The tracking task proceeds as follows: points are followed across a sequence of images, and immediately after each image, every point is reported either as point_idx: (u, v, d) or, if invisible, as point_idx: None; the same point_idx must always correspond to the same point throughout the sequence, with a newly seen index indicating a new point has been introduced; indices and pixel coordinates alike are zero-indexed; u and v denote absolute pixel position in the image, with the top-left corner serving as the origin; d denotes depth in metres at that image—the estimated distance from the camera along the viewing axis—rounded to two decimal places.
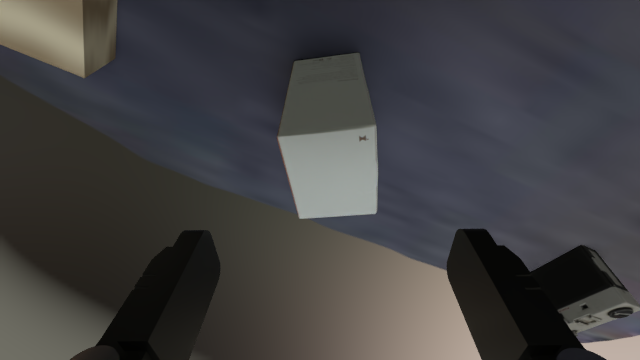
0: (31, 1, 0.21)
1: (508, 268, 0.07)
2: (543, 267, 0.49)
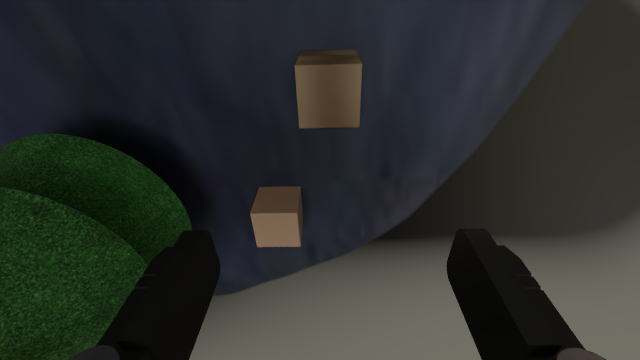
0: None
1: (508, 268, 0.07)
2: None
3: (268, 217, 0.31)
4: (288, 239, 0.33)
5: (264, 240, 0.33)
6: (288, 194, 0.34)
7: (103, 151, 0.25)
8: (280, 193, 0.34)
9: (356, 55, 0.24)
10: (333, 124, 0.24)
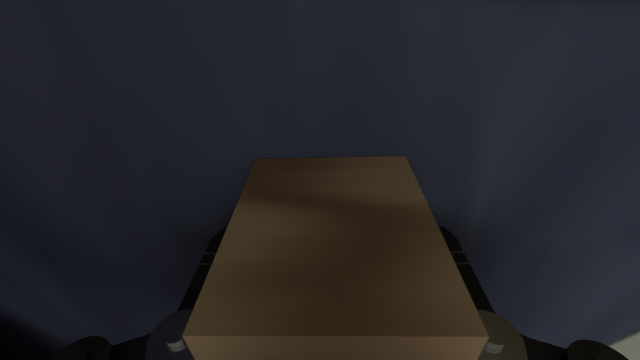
0: None
1: None
2: None
3: None
4: None
5: None
6: None
7: None
8: None
9: (425, 211, 0.07)
10: None
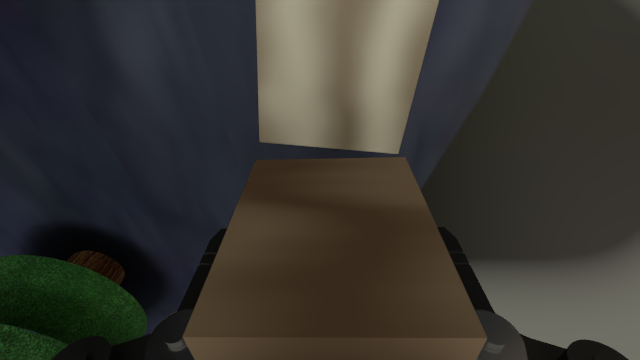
0: (362, 37, 0.20)
1: None
2: None
3: None
4: None
5: None
6: None
7: (64, 267, 0.31)
8: None
9: (424, 213, 0.07)
10: None
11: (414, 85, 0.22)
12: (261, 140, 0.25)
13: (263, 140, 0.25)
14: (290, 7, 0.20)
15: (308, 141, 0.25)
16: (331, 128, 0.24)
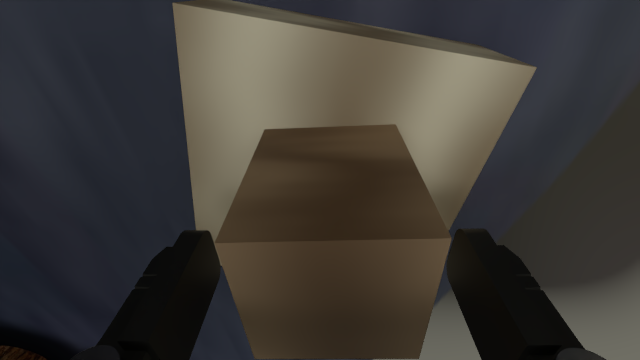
0: None
1: (508, 268, 0.07)
2: None
3: None
4: None
5: None
6: None
7: None
8: None
9: (409, 162, 0.09)
10: (347, 353, 0.09)
11: (457, 207, 0.13)
12: None
13: None
14: (246, 76, 0.10)
15: None
16: None
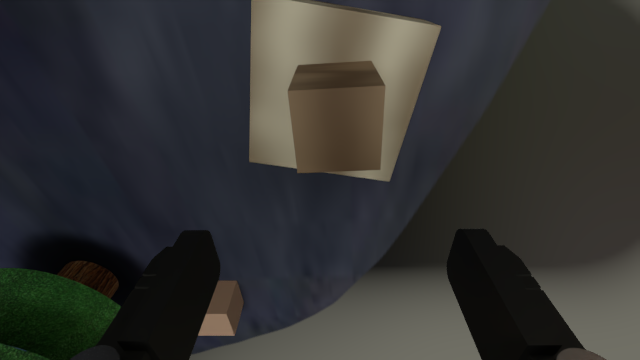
0: None
1: (508, 268, 0.07)
2: None
3: None
4: (223, 330, 0.39)
5: (203, 331, 0.39)
6: (224, 290, 0.39)
7: (55, 281, 0.31)
8: (217, 289, 0.39)
9: (374, 70, 0.17)
10: (344, 167, 0.18)
11: (409, 116, 0.22)
12: (251, 160, 0.24)
13: (253, 160, 0.24)
14: (286, 33, 0.19)
15: None
16: None
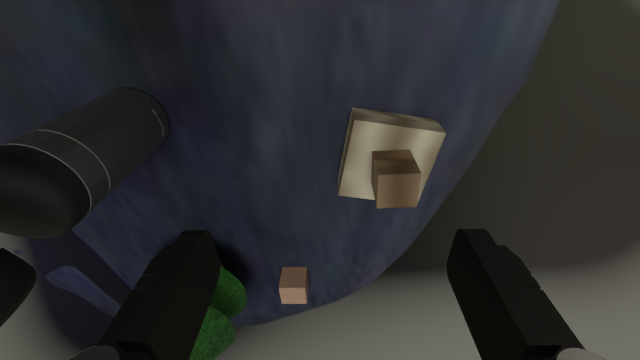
0: None
1: (508, 268, 0.07)
2: None
3: (288, 289, 0.56)
4: (300, 300, 0.58)
5: (286, 300, 0.58)
6: (299, 273, 0.58)
7: None
8: (294, 272, 0.59)
9: (413, 160, 0.37)
10: (399, 205, 0.37)
11: (428, 172, 0.41)
12: (339, 194, 0.44)
13: (340, 194, 0.44)
14: (369, 135, 0.38)
15: (366, 196, 0.44)
16: None
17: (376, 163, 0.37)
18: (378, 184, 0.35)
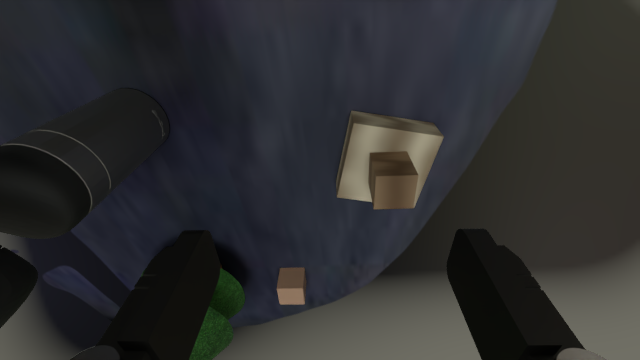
0: None
1: (508, 268, 0.07)
2: None
3: (286, 290, 0.56)
4: (298, 300, 0.58)
5: (284, 301, 0.58)
6: (297, 273, 0.59)
7: None
8: (292, 273, 0.59)
9: (410, 161, 0.37)
10: (396, 206, 0.37)
11: (426, 175, 0.42)
12: (338, 196, 0.44)
13: (339, 196, 0.44)
14: (368, 139, 0.39)
15: (364, 198, 0.44)
16: None
17: (374, 165, 0.37)
18: (375, 185, 0.36)
